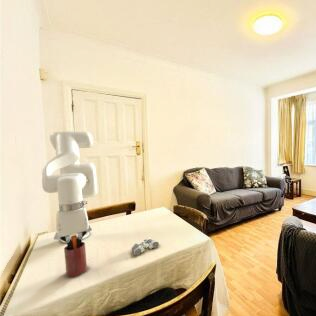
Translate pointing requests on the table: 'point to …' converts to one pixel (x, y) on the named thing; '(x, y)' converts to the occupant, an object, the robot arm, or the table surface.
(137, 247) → the binoculars
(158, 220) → the table surface
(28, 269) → the table surface
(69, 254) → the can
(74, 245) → the solid orange cylinder
